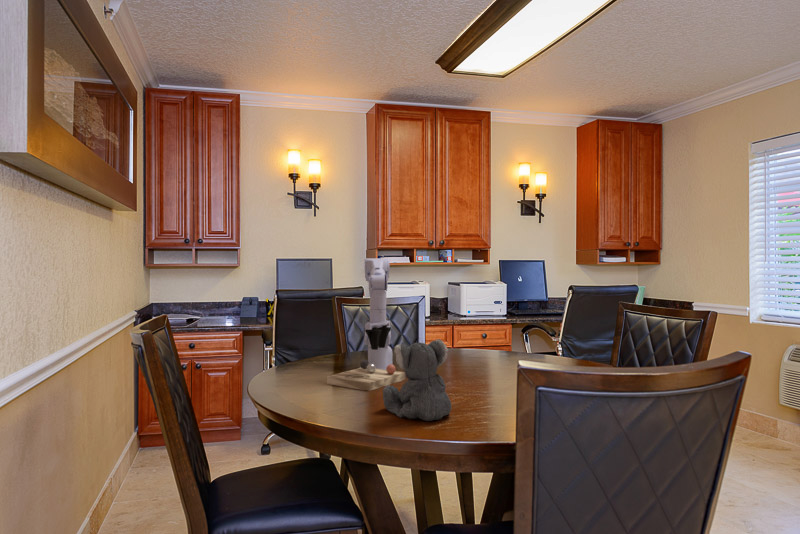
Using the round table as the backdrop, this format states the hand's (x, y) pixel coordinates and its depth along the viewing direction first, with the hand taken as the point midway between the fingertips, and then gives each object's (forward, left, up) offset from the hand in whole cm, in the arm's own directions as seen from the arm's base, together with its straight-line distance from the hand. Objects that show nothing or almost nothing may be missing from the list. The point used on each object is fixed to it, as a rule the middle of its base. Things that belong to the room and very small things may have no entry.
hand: (378, 348), depth 181 cm
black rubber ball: (-1, -7, -6) cm, 9 cm away
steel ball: (+4, 0, -6) cm, 7 cm away
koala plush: (+28, +36, -11) cm, 47 cm away
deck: (+6, 0, -10) cm, 12 cm away
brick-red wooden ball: (+1, +6, -6) cm, 9 cm away
